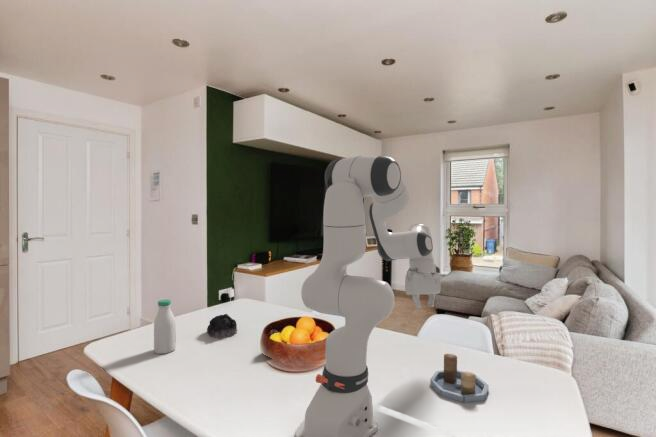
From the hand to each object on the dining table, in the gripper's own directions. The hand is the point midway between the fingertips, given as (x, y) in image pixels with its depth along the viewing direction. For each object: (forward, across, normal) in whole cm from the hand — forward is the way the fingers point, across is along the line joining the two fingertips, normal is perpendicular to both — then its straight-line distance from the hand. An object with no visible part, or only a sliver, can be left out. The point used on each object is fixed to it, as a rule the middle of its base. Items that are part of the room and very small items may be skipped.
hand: (424, 307), depth 124 cm
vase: (+17, -28, +52) cm, 61 cm away
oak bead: (+25, -7, -16) cm, 30 cm away
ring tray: (+25, -5, -12) cm, 28 cm away
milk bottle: (+16, -57, +84) cm, 103 cm away
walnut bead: (+23, -3, -8) cm, 24 cm away
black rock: (+12, -32, +84) cm, 91 cm away
